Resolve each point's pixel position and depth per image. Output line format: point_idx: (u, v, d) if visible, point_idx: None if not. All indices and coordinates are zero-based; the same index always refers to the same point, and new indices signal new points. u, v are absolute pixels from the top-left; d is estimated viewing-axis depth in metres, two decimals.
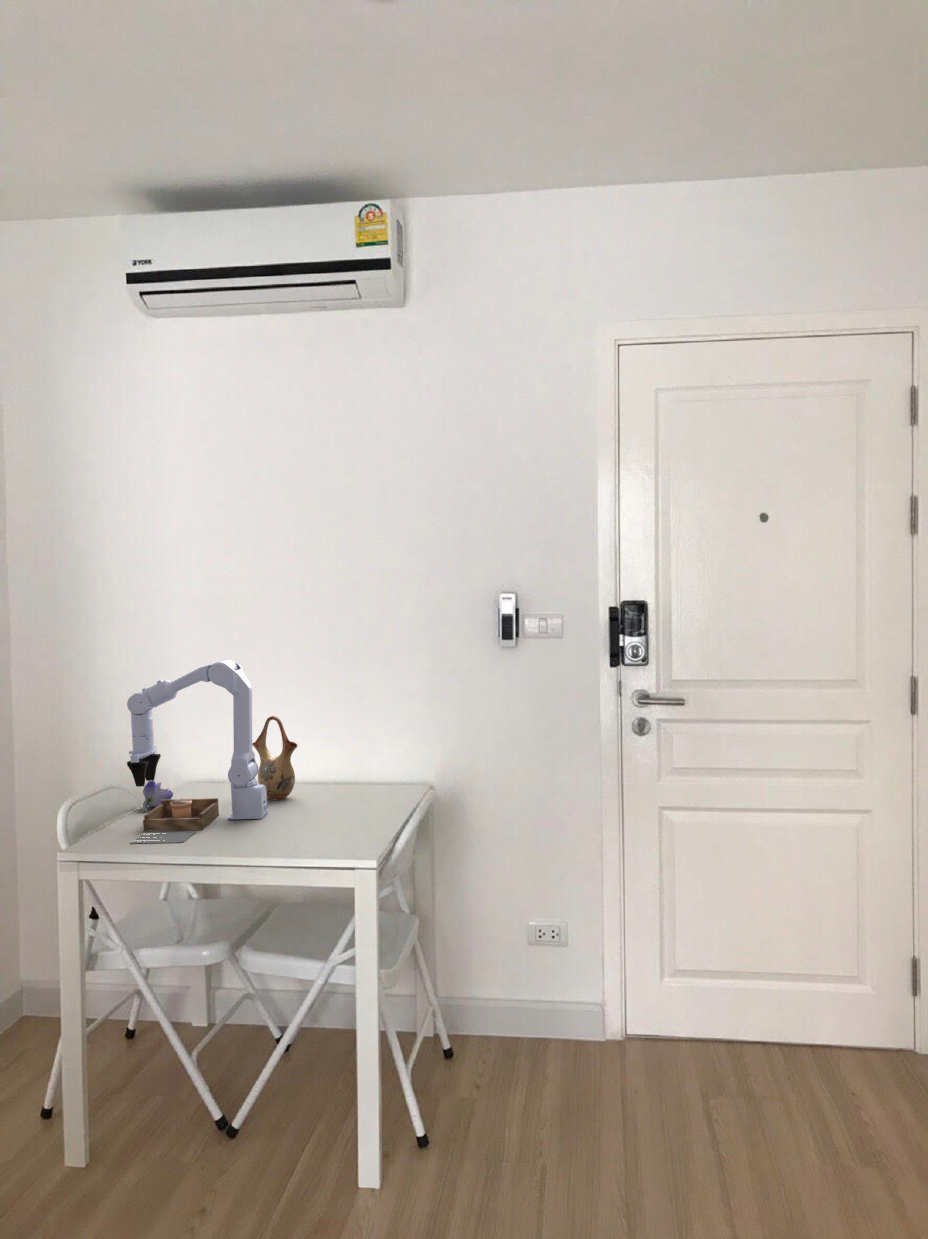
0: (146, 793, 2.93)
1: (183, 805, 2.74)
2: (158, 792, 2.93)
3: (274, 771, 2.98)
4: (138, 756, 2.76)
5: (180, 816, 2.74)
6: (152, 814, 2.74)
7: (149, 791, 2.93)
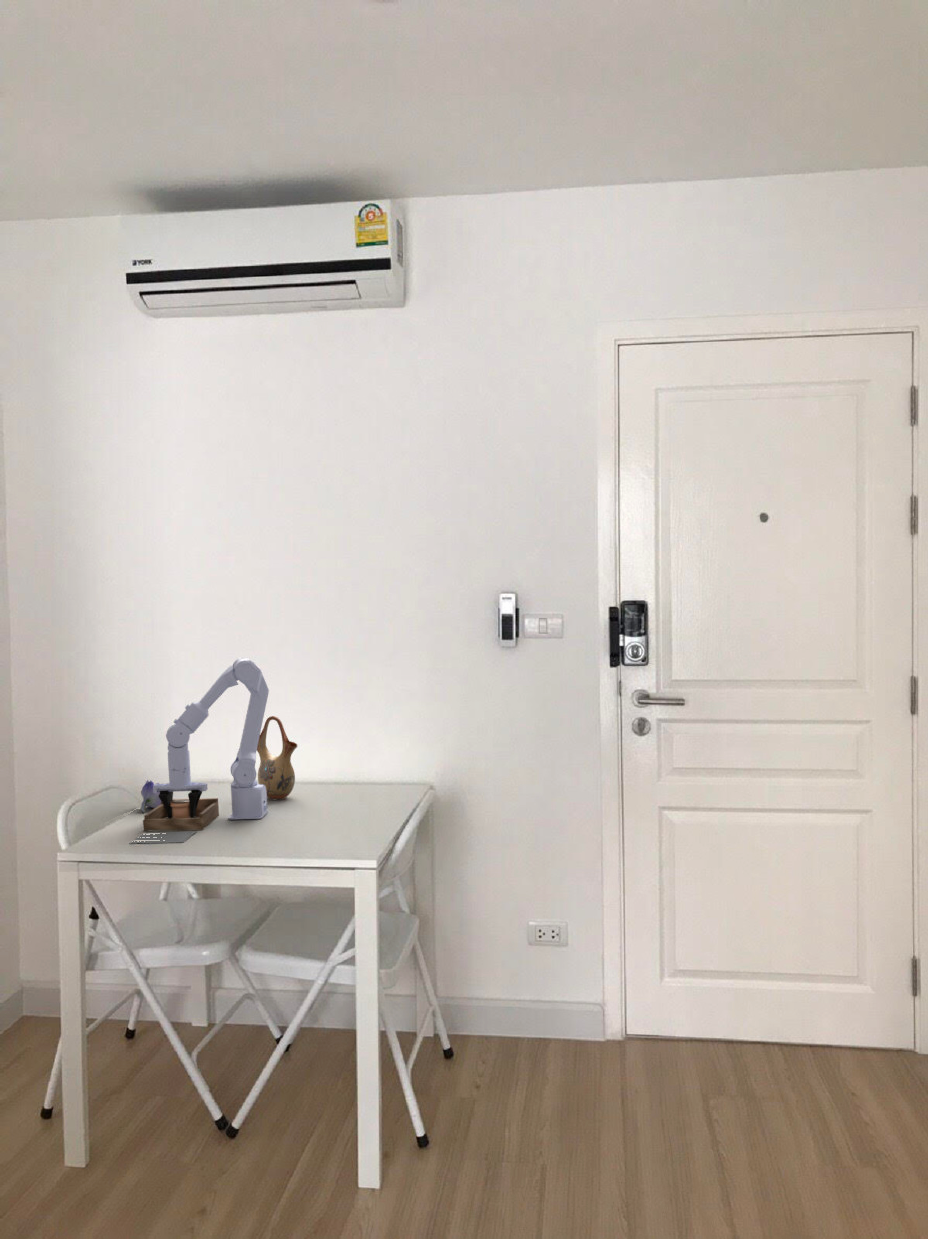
0: (144, 794, 2.92)
1: (183, 805, 2.74)
2: None
3: (274, 771, 2.98)
4: (155, 787, 2.75)
5: (180, 815, 2.74)
6: (152, 814, 2.74)
7: (147, 792, 2.92)
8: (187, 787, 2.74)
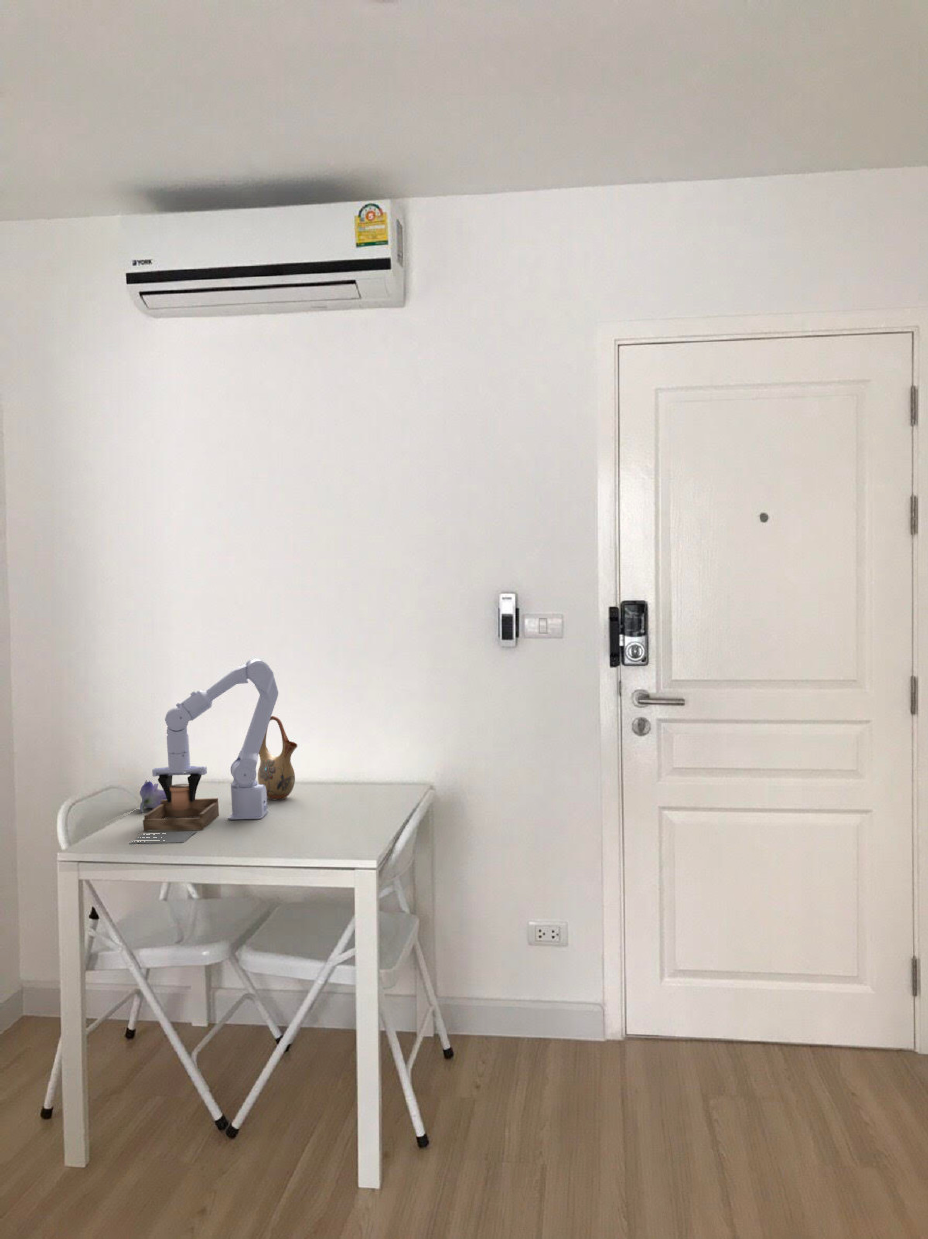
0: (143, 794, 2.91)
1: (182, 789, 2.74)
2: (155, 793, 2.92)
3: (274, 771, 2.98)
4: (154, 770, 2.75)
5: (179, 800, 2.74)
6: (152, 814, 2.74)
7: (146, 792, 2.91)
8: (186, 771, 2.74)
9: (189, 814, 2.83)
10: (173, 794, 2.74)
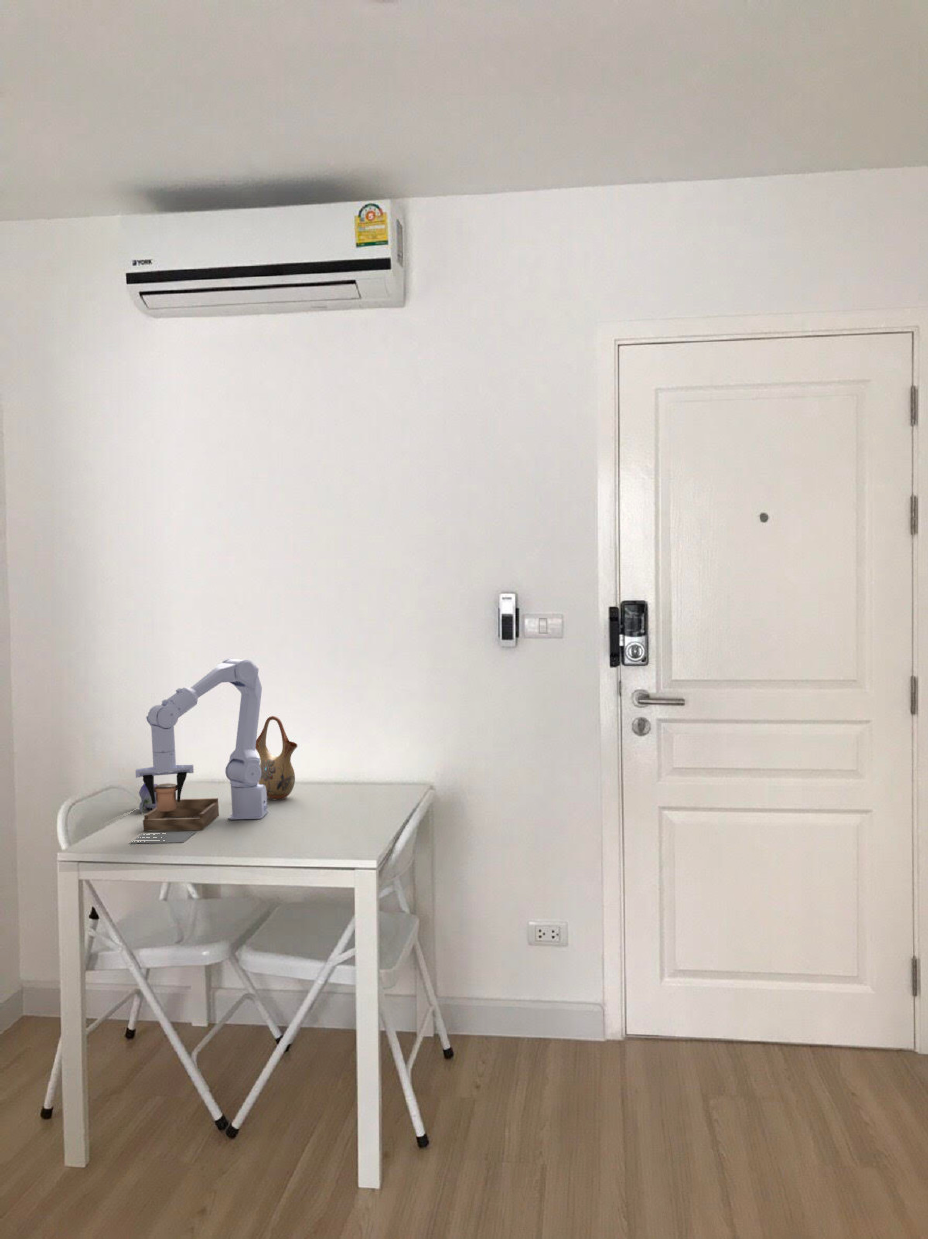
0: (142, 794, 2.91)
1: (170, 790, 2.63)
2: None
3: (274, 771, 2.98)
4: (138, 771, 2.62)
5: (166, 801, 2.63)
6: (152, 814, 2.74)
7: (145, 792, 2.91)
8: (175, 769, 2.63)
9: (189, 814, 2.83)
10: (160, 795, 2.63)
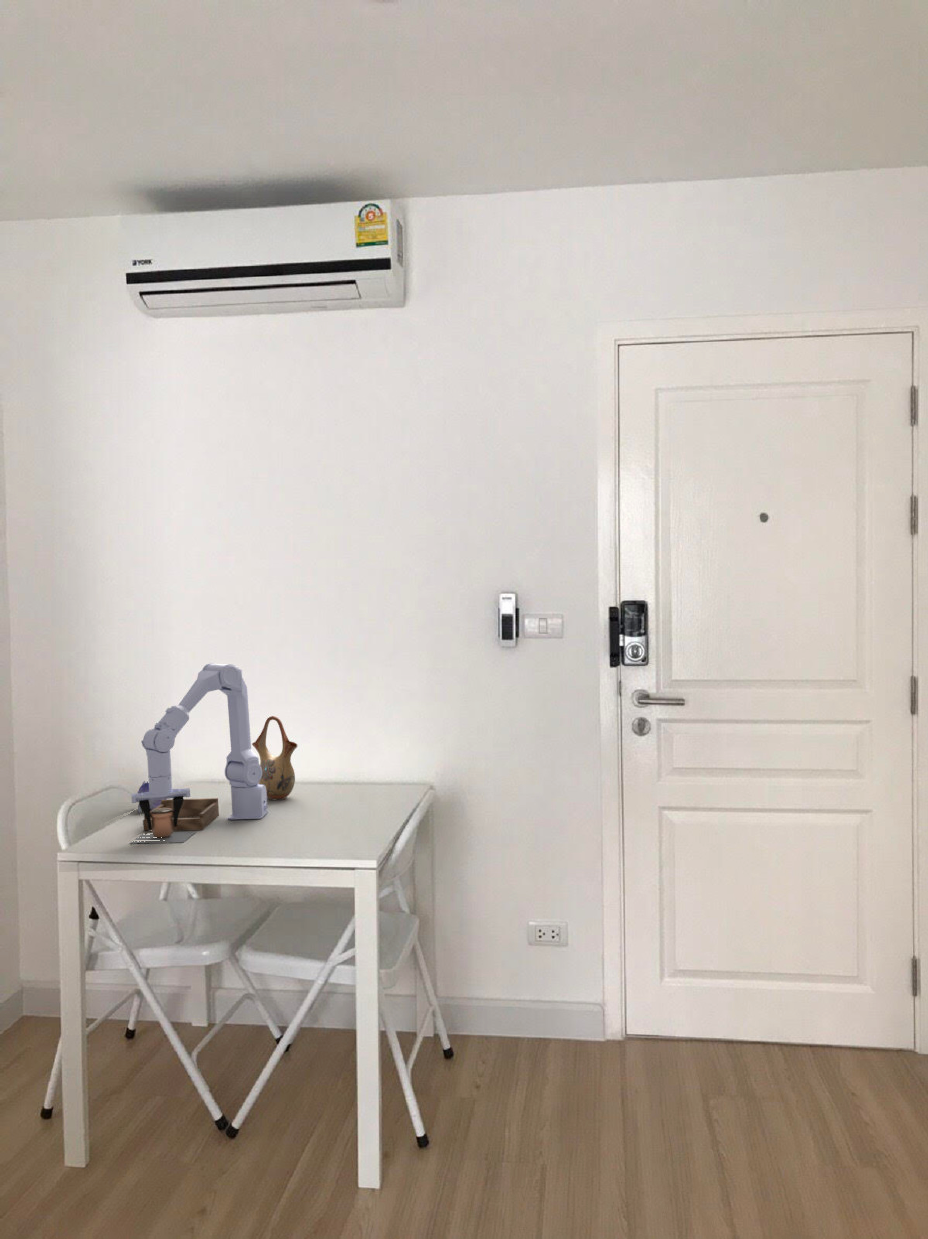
0: None
1: (168, 815, 2.60)
2: None
3: (274, 771, 2.98)
4: (134, 797, 2.58)
5: (164, 826, 2.60)
6: None
7: None
8: (172, 794, 2.60)
9: (189, 814, 2.83)
10: (157, 821, 2.60)
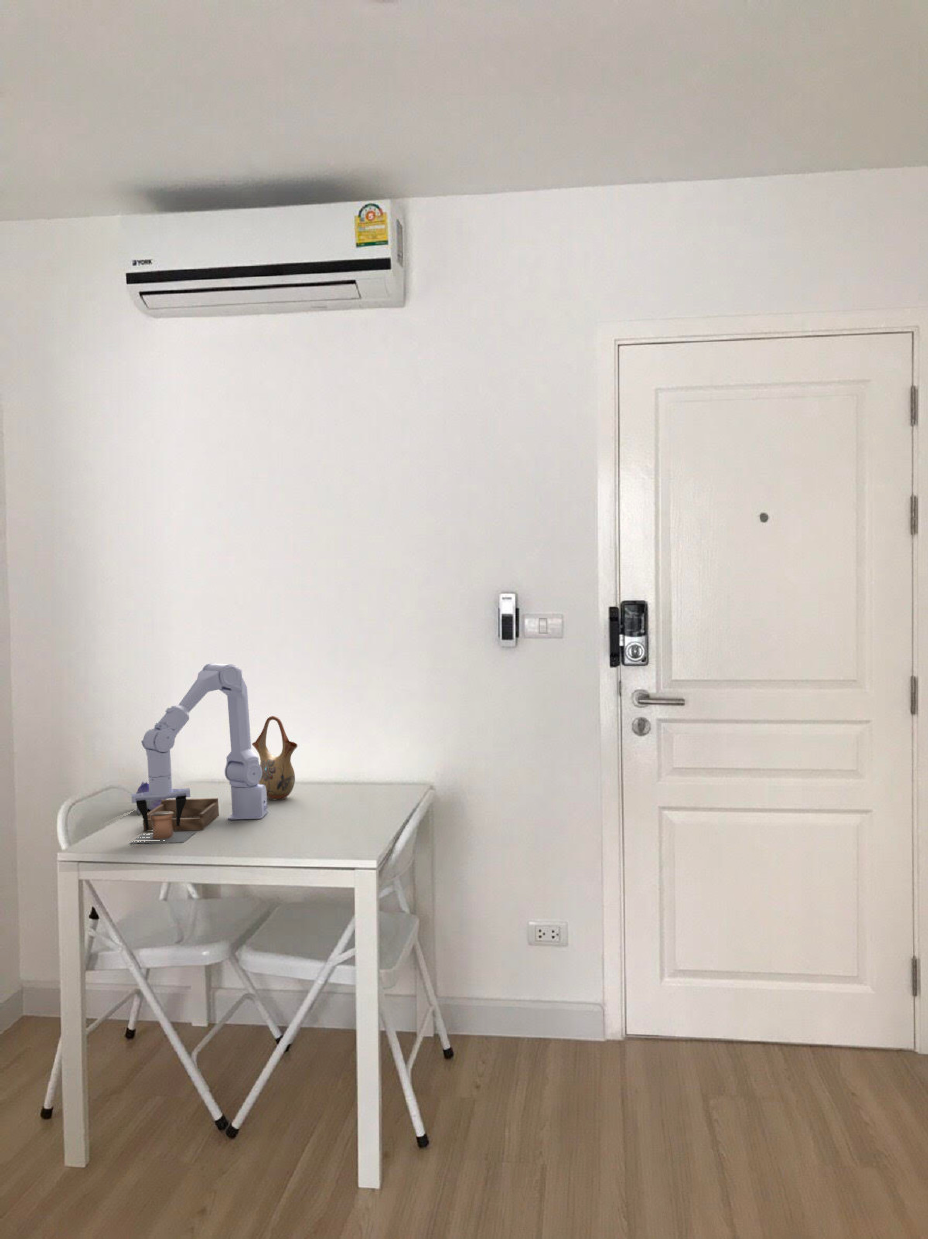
0: None
1: (168, 817, 2.60)
2: None
3: (274, 771, 2.98)
4: (134, 797, 2.58)
5: (164, 828, 2.60)
6: None
7: None
8: (172, 794, 2.60)
9: (189, 814, 2.83)
10: (157, 823, 2.60)
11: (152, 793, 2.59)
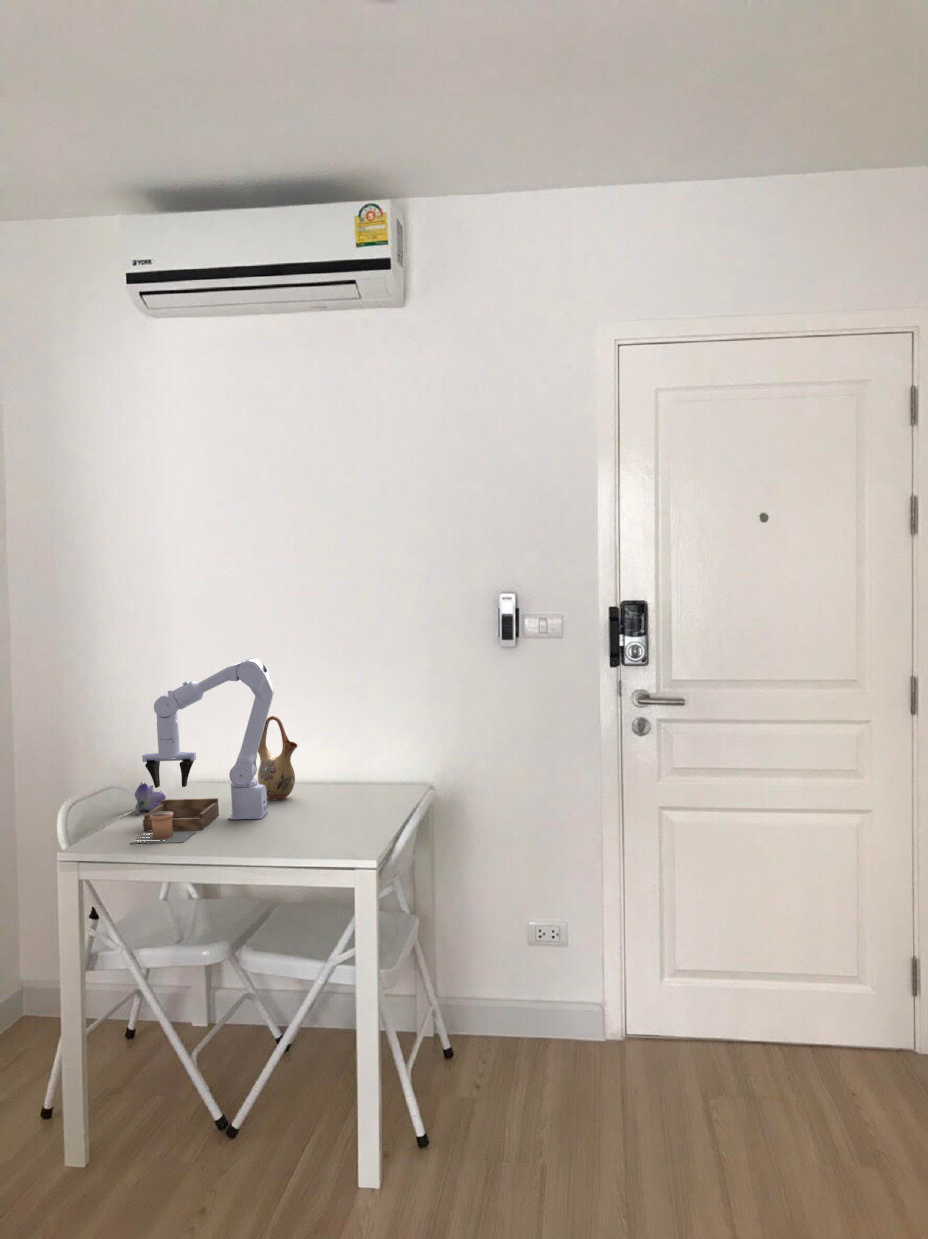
0: (138, 796, 2.89)
1: (167, 817, 2.60)
2: (150, 794, 2.90)
3: (274, 771, 2.98)
4: (144, 756, 2.79)
5: (164, 828, 2.60)
6: None
7: (141, 794, 2.89)
8: (176, 756, 2.77)
9: (189, 814, 2.83)
10: (157, 823, 2.60)
11: (159, 754, 2.78)
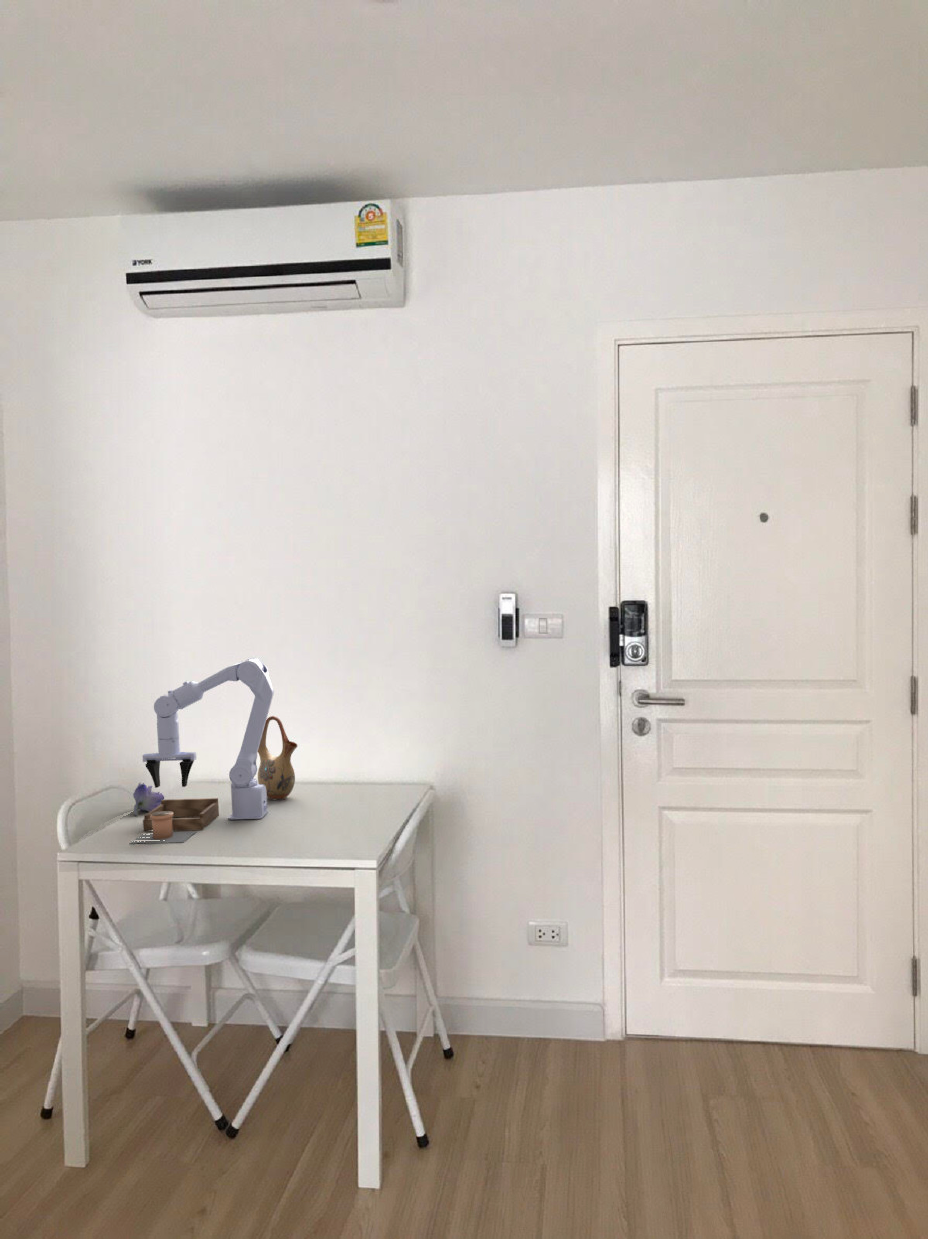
0: (137, 797, 2.88)
1: (167, 817, 2.60)
2: (149, 795, 2.89)
3: (274, 771, 2.98)
4: (144, 756, 2.79)
5: (164, 828, 2.60)
6: None
7: (140, 794, 2.88)
8: (176, 756, 2.78)
9: (189, 814, 2.83)
10: (157, 823, 2.60)
11: (159, 754, 2.78)
